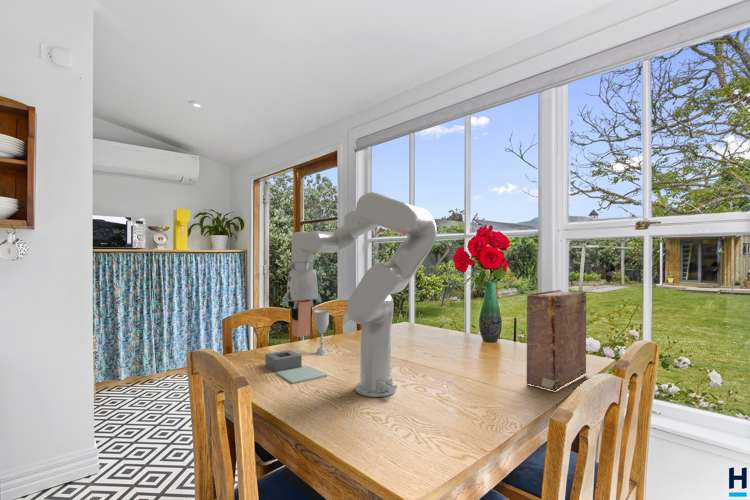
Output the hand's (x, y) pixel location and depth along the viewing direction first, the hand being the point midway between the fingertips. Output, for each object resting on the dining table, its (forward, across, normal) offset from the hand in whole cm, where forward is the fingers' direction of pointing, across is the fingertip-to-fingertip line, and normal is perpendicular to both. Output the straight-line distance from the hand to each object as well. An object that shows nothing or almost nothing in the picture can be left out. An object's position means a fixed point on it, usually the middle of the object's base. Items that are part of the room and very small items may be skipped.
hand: (301, 318), depth 134 cm
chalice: (+20, +20, +21) cm, 35 cm away
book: (+20, +68, -57) cm, 90 cm away
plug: (+6, 0, 0) cm, 6 cm away
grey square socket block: (+20, -1, +13) cm, 24 cm away
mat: (+20, 0, 0) cm, 20 cm away
